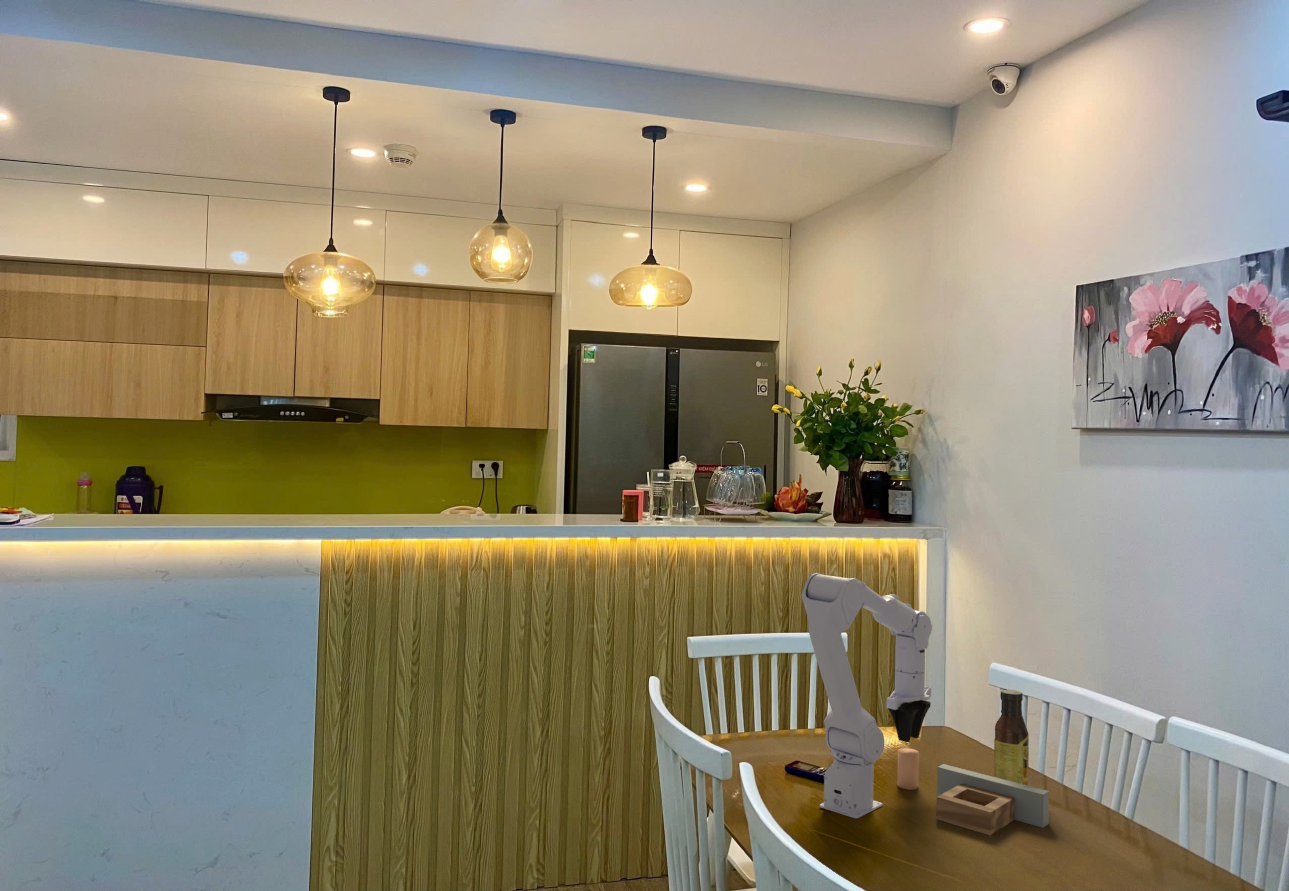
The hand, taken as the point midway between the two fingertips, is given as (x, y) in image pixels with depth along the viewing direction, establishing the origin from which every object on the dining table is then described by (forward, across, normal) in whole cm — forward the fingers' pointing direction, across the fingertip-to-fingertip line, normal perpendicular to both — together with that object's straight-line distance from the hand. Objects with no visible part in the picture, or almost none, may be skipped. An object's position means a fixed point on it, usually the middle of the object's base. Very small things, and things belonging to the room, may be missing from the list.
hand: (908, 739), depth 187 cm
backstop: (+9, 0, -17) cm, 19 cm away
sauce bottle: (+10, +11, -16) cm, 22 cm away
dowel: (+9, 0, 0) cm, 9 cm away
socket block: (+9, -7, -17) cm, 21 cm away
